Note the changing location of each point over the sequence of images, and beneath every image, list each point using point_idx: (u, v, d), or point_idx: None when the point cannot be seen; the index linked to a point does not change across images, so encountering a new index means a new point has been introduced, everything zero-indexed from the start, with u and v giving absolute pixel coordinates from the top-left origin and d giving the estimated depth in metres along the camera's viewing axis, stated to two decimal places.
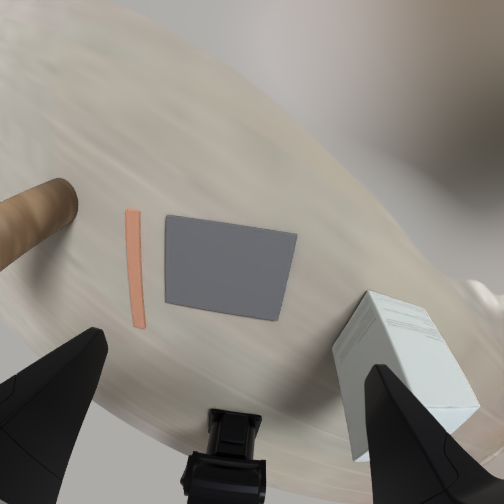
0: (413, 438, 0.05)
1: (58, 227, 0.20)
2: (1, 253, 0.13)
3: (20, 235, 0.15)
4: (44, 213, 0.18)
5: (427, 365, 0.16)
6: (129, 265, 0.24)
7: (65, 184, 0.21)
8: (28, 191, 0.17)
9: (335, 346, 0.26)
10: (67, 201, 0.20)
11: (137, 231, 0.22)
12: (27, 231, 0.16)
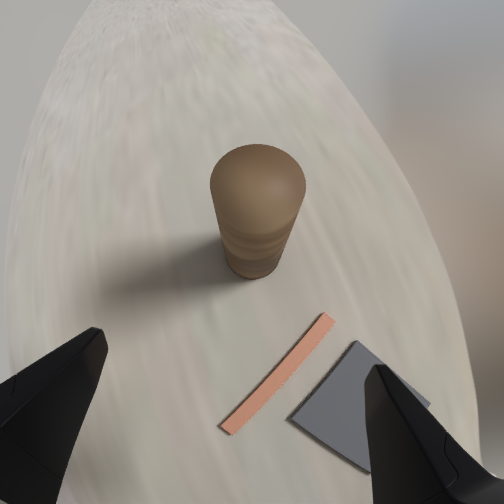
0: (413, 438, 0.05)
1: (259, 270, 0.20)
2: (288, 224, 0.14)
3: (287, 235, 0.16)
4: None
5: None
6: (284, 362, 0.21)
7: None
8: None
9: None
10: (279, 259, 0.22)
11: (320, 337, 0.21)
12: (285, 240, 0.17)
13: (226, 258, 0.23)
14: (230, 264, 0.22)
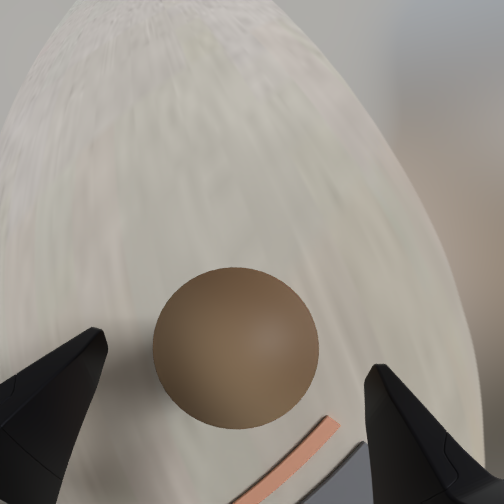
0: (413, 438, 0.05)
1: None
2: None
3: None
4: None
5: None
6: (278, 470, 0.15)
7: None
8: None
9: None
10: None
11: (321, 442, 0.15)
12: None
13: None
14: None
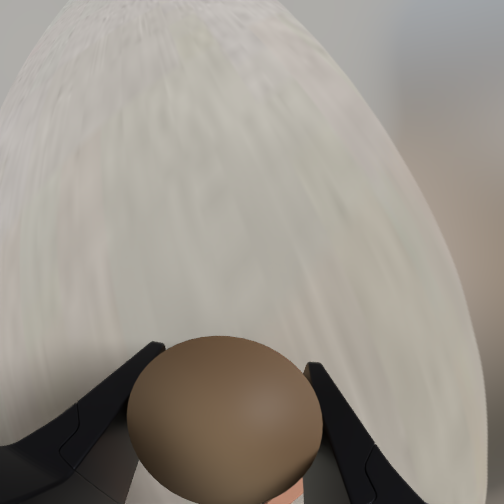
0: (330, 446, 0.05)
1: None
2: None
3: None
4: None
5: None
6: (276, 499, 0.13)
7: None
8: None
9: None
10: None
11: None
12: None
13: None
14: None
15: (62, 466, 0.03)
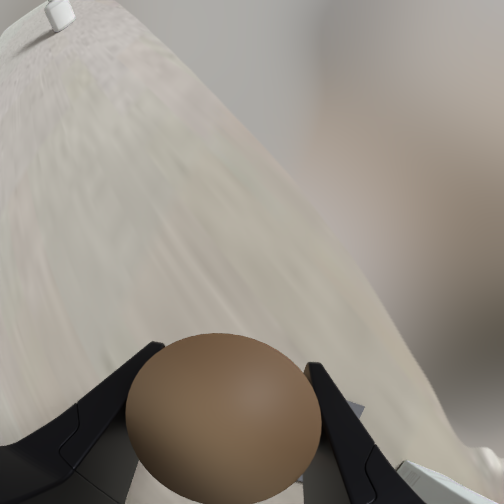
0: (330, 446, 0.05)
1: None
2: None
3: None
4: None
5: (474, 496, 0.10)
6: None
7: None
8: None
9: None
10: None
11: None
12: None
13: None
14: None
15: (62, 466, 0.03)
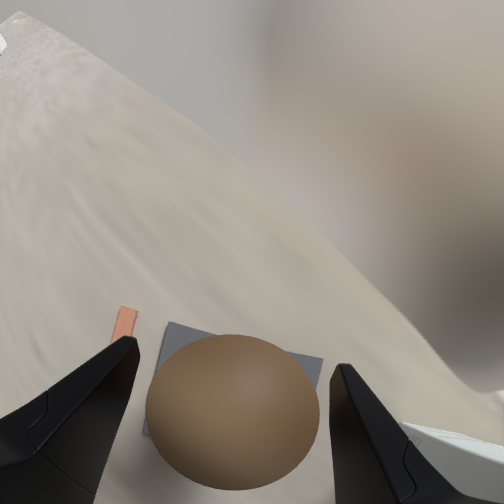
0: (369, 444, 0.05)
1: None
2: None
3: None
4: None
5: (502, 452, 0.07)
6: None
7: None
8: None
9: None
10: None
11: (128, 334, 0.17)
12: None
13: None
14: None
15: (27, 447, 0.03)
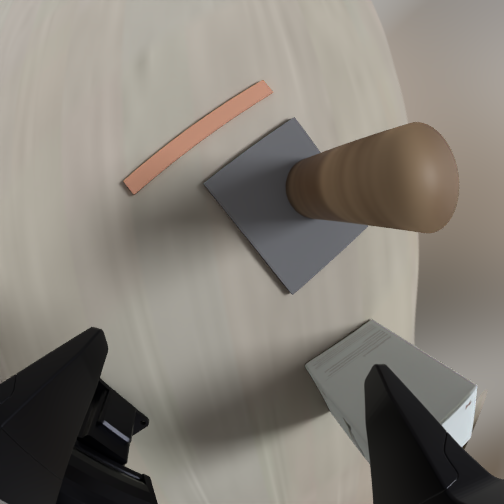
0: (413, 438, 0.05)
1: (317, 216, 0.18)
2: None
3: None
4: None
5: None
6: (208, 117, 0.18)
7: None
8: None
9: (314, 362, 0.22)
10: None
11: (253, 101, 0.18)
12: None
13: (291, 176, 0.19)
14: (292, 185, 0.18)
15: None
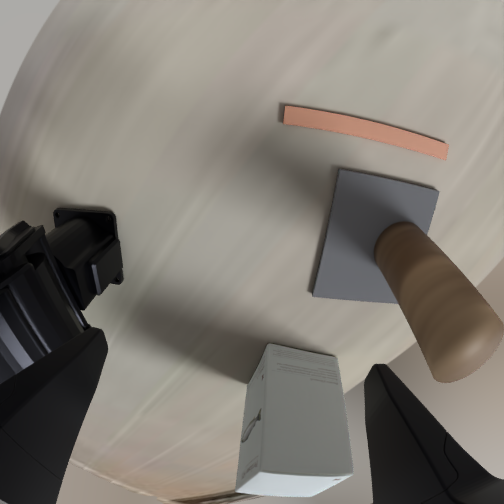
0: (413, 438, 0.05)
1: (384, 274, 0.18)
2: None
3: None
4: None
5: None
6: (390, 128, 0.16)
7: None
8: None
9: (275, 348, 0.25)
10: None
11: (428, 152, 0.17)
12: None
13: (397, 229, 0.18)
14: (391, 236, 0.18)
15: None
